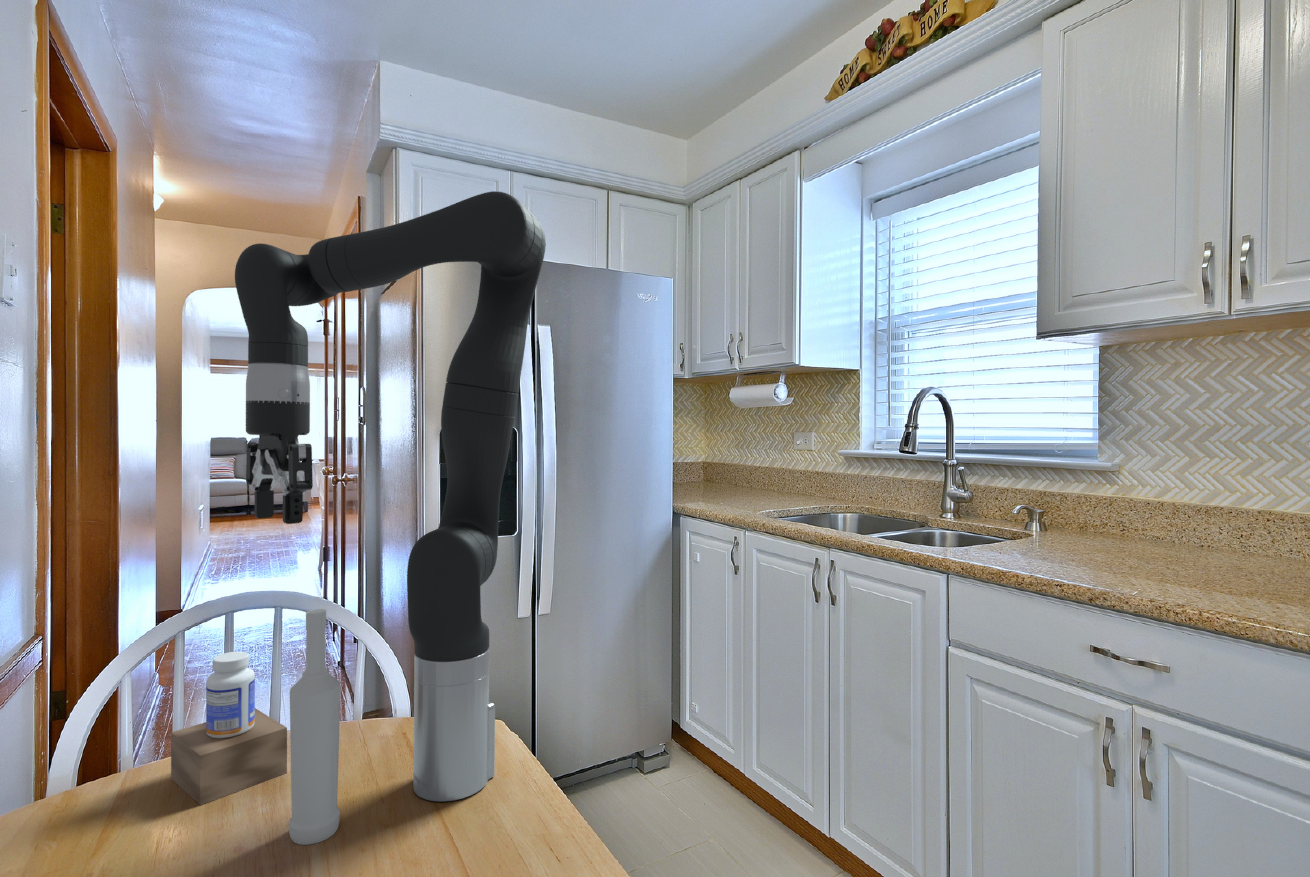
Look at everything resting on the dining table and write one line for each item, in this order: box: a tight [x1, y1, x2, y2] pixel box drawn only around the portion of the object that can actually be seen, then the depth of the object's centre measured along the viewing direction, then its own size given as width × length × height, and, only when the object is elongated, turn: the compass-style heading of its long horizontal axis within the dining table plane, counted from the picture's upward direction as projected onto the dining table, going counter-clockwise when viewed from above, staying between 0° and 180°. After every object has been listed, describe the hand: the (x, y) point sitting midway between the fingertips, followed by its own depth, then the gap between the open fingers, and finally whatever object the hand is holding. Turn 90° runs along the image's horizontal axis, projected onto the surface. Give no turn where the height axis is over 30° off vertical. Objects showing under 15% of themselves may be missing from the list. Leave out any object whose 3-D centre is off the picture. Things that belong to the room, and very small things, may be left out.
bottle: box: [288, 608, 342, 846], centre depth 76 cm, size 5×5×25 cm
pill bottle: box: [205, 651, 256, 738], centre depth 88 cm, size 5×5×10 cm
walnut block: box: [170, 707, 288, 806], centre depth 89 cm, size 10×10×6 cm
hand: (277, 520), depth 91 cm, fingers open, 8 cm apart
